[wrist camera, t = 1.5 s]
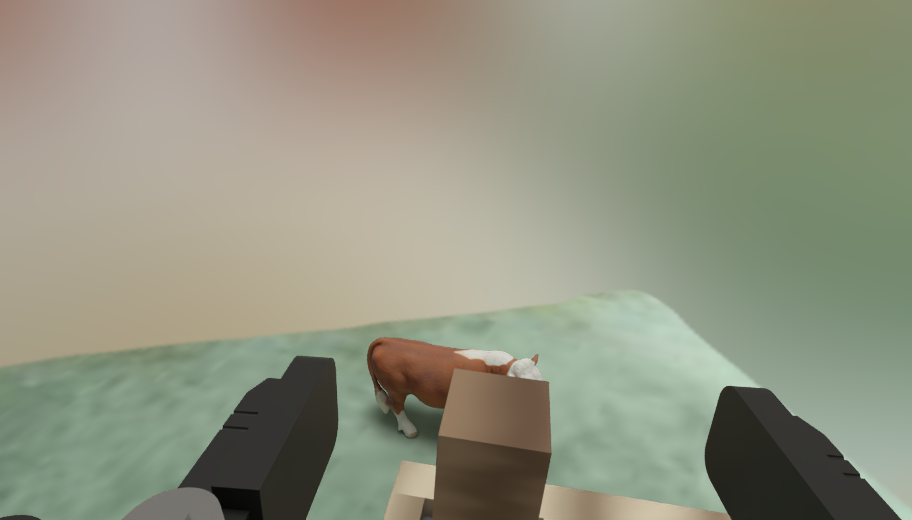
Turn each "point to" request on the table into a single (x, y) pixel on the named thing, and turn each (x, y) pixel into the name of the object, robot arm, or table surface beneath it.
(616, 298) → the table surface
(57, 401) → the table surface
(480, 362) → the bull figurine
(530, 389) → the walnut block
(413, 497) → the puzzle board
